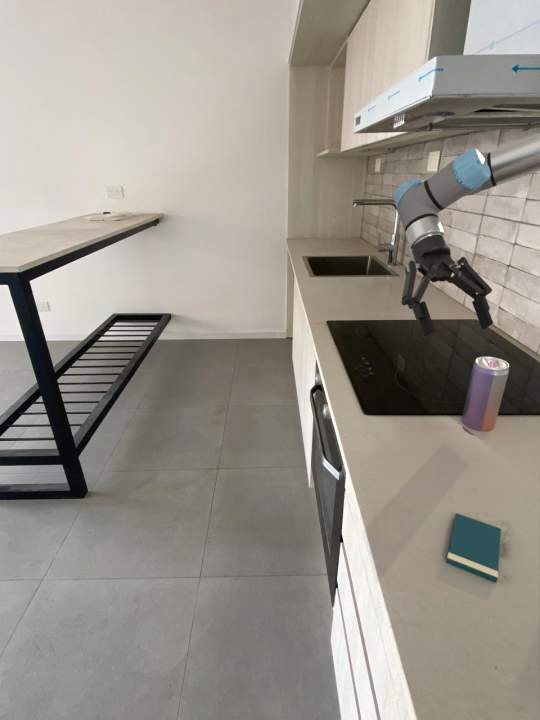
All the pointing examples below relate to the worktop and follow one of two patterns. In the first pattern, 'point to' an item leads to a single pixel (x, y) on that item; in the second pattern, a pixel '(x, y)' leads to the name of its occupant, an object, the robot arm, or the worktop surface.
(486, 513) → the worktop surface
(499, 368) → the beverage can
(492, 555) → the teal hardcover book
